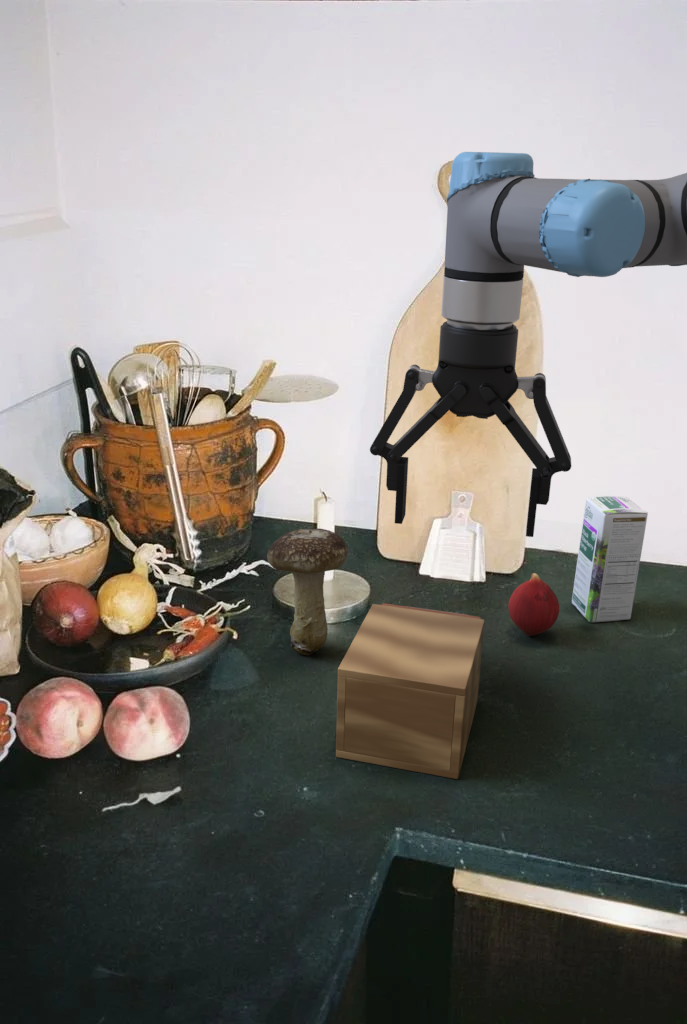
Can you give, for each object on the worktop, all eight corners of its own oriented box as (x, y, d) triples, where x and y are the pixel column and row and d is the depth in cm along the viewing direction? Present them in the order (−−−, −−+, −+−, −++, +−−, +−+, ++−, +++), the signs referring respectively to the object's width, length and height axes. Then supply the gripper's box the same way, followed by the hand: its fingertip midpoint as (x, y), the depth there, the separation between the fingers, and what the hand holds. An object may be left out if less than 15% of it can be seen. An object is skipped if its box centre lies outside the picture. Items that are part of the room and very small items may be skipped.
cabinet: (369, 683, 100) (372, 603, 97) (477, 701, 98) (484, 619, 94) (335, 757, 88) (337, 668, 85) (458, 779, 85) (465, 688, 82)
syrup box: (569, 602, 120) (582, 496, 114) (612, 600, 121) (627, 494, 115) (588, 623, 114) (603, 513, 109) (633, 620, 115) (650, 510, 110)
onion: (560, 630, 113) (567, 569, 110) (549, 651, 108) (556, 589, 105) (513, 620, 115) (519, 560, 112) (500, 640, 110) (505, 578, 107)
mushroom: (291, 682, 100) (292, 554, 95) (252, 647, 107) (251, 526, 102) (363, 659, 105) (368, 536, 100) (322, 627, 112) (325, 510, 106)
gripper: (610, 323, 92) (584, 524, 99) (360, 309, 96) (354, 502, 104) (615, 337, 85) (587, 551, 93) (345, 321, 89) (340, 526, 97)
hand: (464, 525), depth 98 cm, fingers open, 13 cm apart
